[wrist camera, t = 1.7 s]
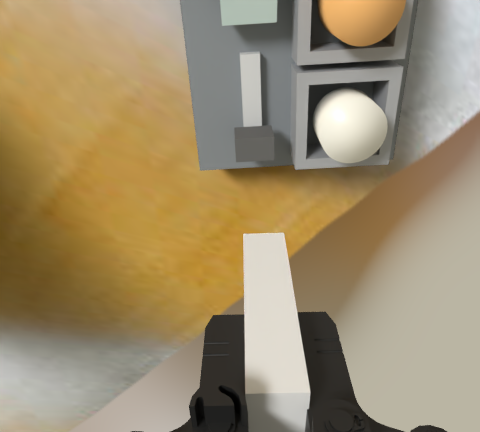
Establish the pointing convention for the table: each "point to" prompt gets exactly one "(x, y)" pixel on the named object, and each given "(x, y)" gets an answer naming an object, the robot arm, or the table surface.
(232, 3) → the block
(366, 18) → the button
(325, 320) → the robot arm
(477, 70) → the table surface
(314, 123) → the button
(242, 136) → the slider
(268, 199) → the table surface
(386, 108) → the panel
